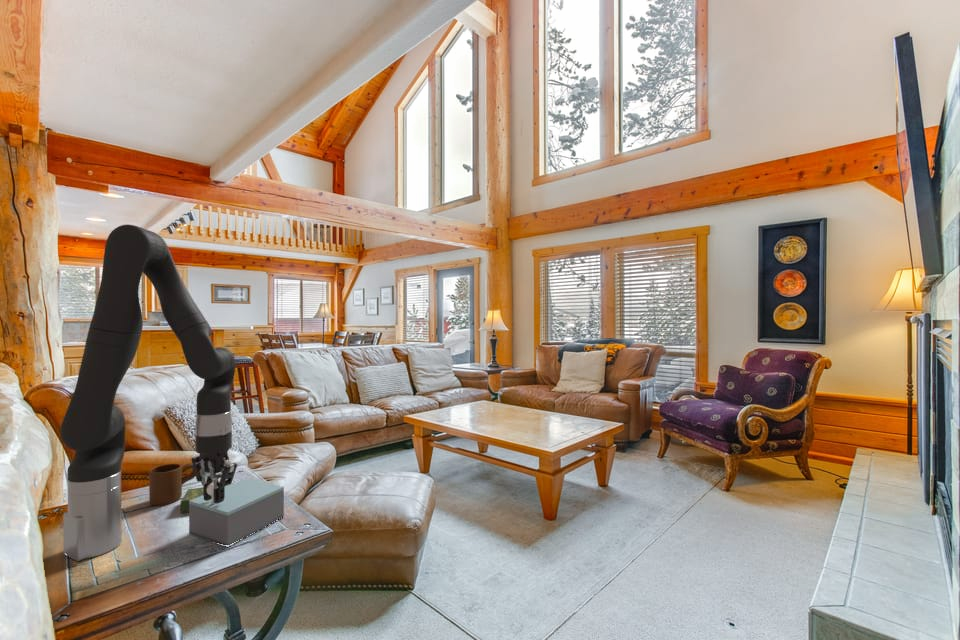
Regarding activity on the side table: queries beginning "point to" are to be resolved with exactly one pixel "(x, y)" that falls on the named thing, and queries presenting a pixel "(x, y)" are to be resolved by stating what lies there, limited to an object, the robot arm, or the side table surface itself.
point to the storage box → (235, 520)
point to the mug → (168, 483)
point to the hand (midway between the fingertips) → (214, 500)
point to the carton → (189, 496)
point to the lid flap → (237, 496)
